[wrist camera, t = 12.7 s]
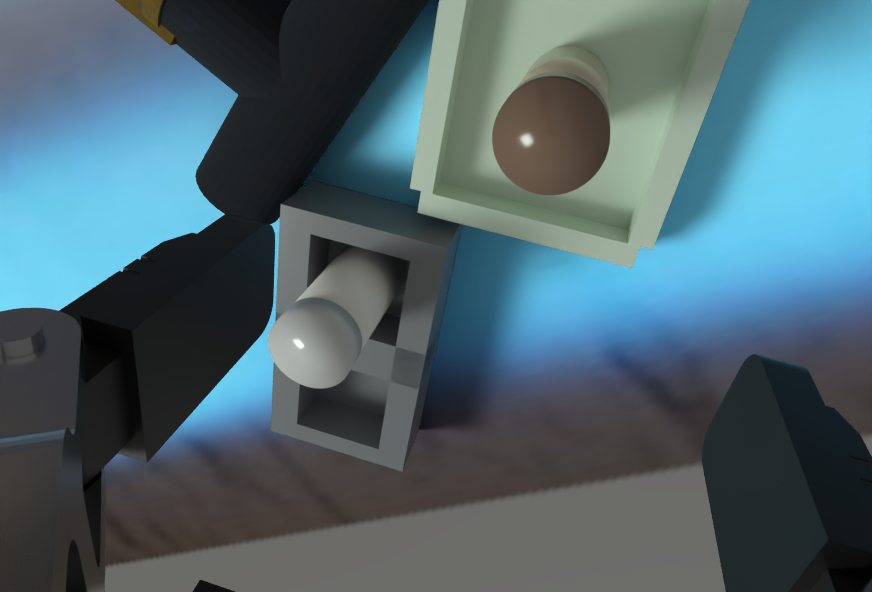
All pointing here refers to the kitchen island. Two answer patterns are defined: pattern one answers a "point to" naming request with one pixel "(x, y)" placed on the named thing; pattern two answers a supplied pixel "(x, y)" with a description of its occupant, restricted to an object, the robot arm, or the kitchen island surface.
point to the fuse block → (393, 336)
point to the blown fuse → (555, 123)
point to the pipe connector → (278, 83)
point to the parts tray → (628, 109)
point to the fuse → (335, 317)
